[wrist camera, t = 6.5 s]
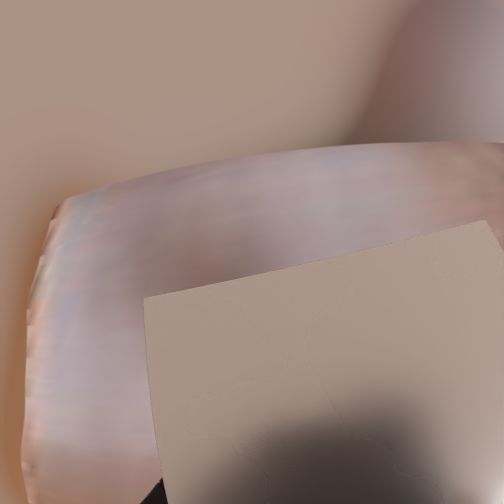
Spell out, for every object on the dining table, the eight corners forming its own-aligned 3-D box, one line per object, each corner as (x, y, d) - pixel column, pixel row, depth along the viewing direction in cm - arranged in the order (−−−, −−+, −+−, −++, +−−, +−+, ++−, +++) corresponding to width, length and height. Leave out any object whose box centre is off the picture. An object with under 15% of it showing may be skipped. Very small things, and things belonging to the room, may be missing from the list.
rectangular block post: (372, 464, 12) (566, 508, 1) (270, 490, 12) (217, 648, 1) (349, 373, 14) (484, 219, 4) (250, 397, 14) (143, 298, 4)
